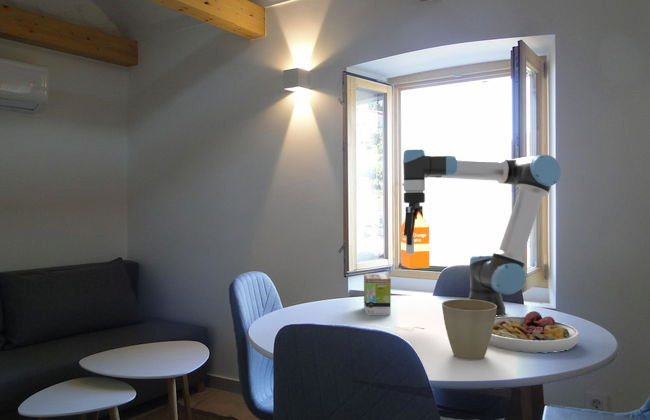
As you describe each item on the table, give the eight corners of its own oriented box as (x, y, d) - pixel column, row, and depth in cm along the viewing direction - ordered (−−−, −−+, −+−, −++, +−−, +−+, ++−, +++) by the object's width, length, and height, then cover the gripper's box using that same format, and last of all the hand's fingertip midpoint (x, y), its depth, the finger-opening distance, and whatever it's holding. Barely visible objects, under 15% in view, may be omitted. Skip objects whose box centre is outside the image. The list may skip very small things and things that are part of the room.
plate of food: (572, 364, 141) (572, 336, 140) (464, 348, 157) (463, 323, 156) (583, 338, 166) (583, 314, 166) (489, 327, 182) (489, 305, 182)
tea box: (391, 315, 200) (391, 278, 200) (365, 316, 201) (365, 278, 200) (387, 307, 215) (387, 272, 215) (363, 307, 216) (363, 272, 215)
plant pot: (437, 365, 141) (437, 307, 140) (447, 350, 154) (447, 297, 154) (494, 372, 135) (494, 311, 134) (499, 356, 148) (499, 301, 148)
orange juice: (409, 268, 182) (408, 212, 181) (400, 265, 191) (400, 211, 190) (430, 267, 184) (429, 211, 183) (420, 264, 192) (420, 211, 192)
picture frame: (424, 329, 178) (424, 327, 178) (410, 343, 162) (410, 341, 162) (360, 323, 189) (360, 321, 189) (340, 335, 172) (340, 333, 172)
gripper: (413, 192, 198) (413, 249, 199) (394, 192, 177) (394, 255, 178) (432, 192, 195) (432, 249, 195) (415, 191, 174) (415, 256, 175)
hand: (414, 252), depth 187 cm, fingers closed on orange juice, 11 cm apart
